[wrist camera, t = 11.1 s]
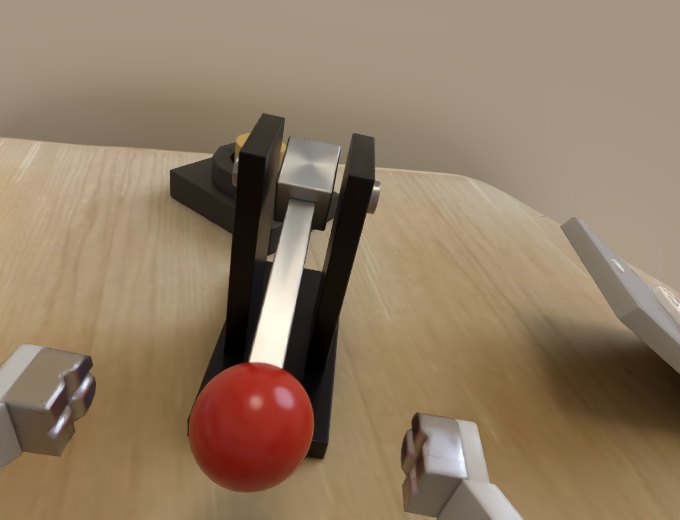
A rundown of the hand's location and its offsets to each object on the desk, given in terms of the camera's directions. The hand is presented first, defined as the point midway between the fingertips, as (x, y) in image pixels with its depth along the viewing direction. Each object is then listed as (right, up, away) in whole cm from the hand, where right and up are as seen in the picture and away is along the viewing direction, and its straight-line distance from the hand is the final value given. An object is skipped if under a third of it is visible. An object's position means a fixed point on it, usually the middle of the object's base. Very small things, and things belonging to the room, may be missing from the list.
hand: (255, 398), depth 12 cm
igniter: (-5, +8, +25) cm, 26 cm away
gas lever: (0, +2, +6) cm, 6 cm away
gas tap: (-1, -1, +13) cm, 14 cm away
